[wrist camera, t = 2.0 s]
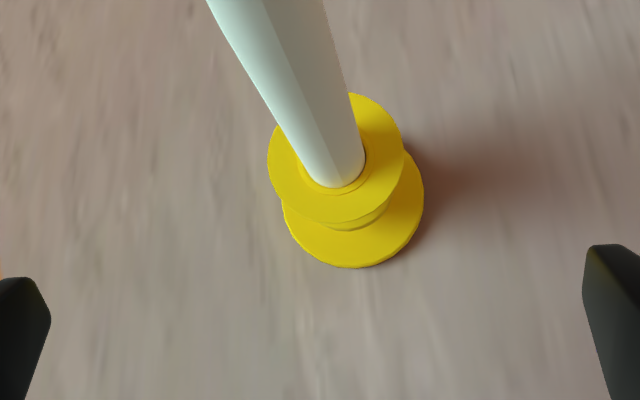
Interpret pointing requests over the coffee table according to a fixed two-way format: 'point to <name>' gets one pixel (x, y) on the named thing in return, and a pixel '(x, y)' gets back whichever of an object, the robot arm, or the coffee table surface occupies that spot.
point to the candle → (324, 136)
